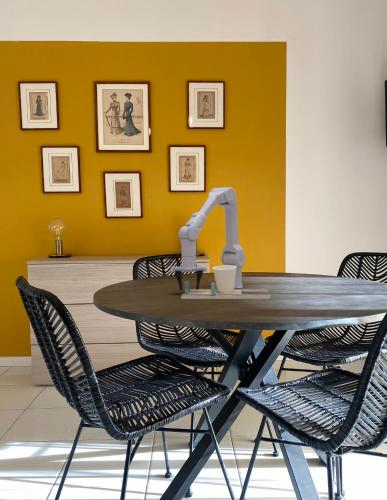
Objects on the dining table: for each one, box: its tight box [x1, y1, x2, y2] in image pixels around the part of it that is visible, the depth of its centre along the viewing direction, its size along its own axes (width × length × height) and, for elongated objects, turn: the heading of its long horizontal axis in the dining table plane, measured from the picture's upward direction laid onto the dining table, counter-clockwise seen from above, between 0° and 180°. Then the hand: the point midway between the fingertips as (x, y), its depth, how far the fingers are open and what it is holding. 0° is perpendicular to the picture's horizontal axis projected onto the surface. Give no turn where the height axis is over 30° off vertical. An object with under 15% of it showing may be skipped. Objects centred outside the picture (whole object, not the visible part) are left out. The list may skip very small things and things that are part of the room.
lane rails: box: [180, 282, 272, 300], centre depth 200 cm, size 17×34×6 cm, turn 85°
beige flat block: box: [184, 279, 243, 294], centre depth 202 cm, size 11×23×6 cm, turn 85°
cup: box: [212, 265, 237, 293], centre depth 202 cm, size 10×10×11 cm
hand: (189, 289), depth 203 cm, fingers open, 6 cm apart
